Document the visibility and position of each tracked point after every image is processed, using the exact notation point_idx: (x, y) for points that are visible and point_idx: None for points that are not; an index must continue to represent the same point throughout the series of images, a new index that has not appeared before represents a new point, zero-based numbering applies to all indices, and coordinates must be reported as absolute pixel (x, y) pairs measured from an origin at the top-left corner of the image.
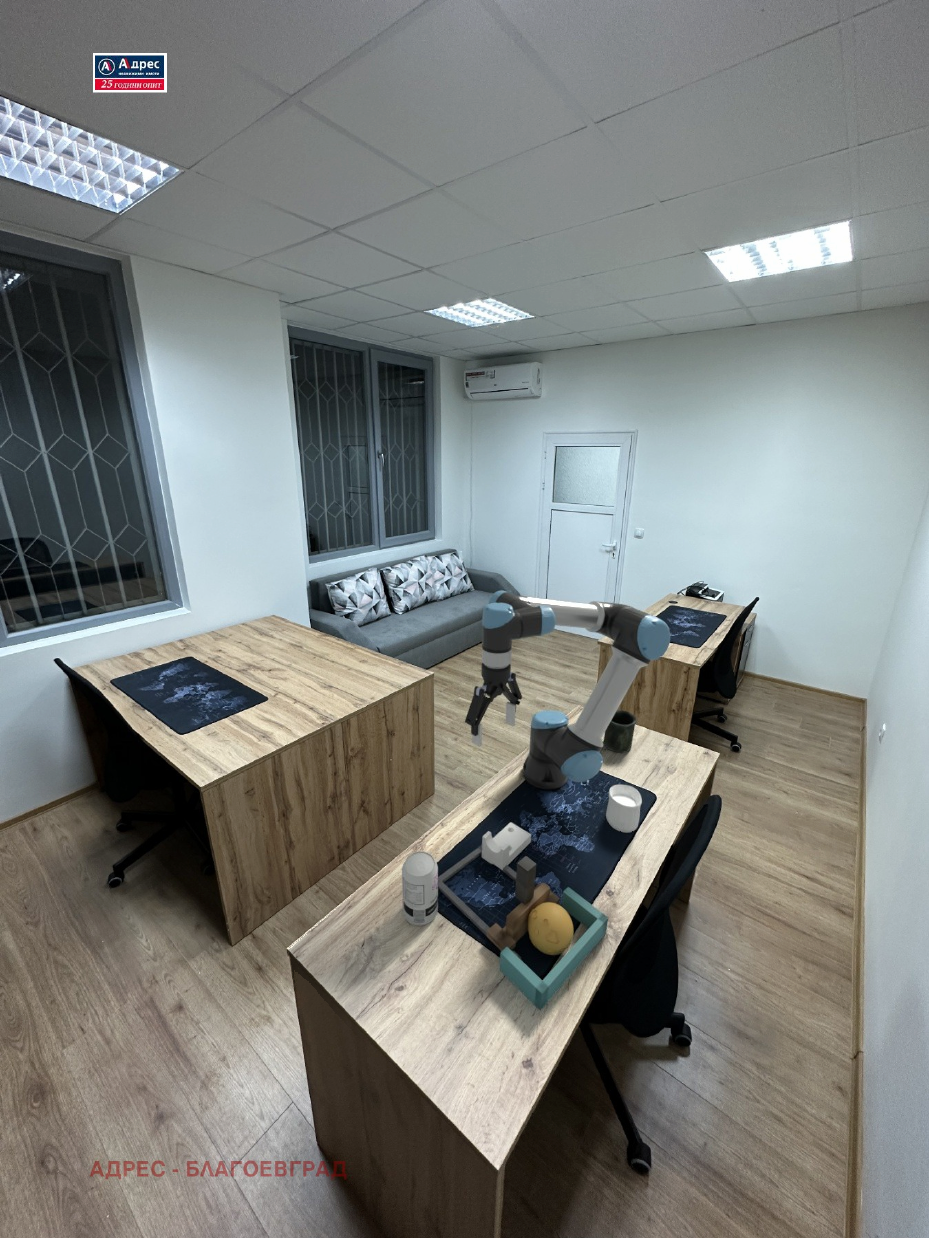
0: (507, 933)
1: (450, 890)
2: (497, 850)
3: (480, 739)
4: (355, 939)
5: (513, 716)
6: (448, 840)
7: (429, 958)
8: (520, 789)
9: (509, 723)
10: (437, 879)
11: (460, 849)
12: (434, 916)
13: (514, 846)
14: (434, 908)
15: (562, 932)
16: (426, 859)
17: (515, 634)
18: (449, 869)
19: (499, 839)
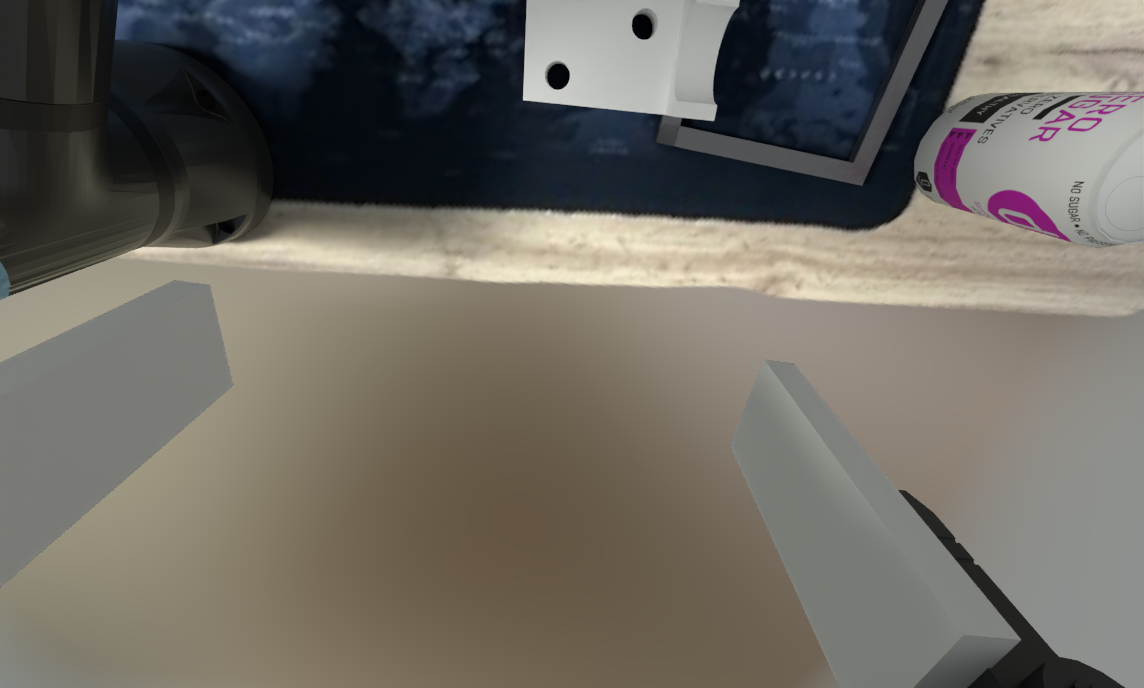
0: None
1: (876, 115)
2: (707, 42)
3: (823, 414)
4: None
5: (72, 357)
6: (684, 249)
7: (1111, 17)
8: (327, 187)
9: (210, 343)
10: (1078, 105)
11: (697, 196)
12: (991, 93)
13: (625, 7)
14: (1018, 93)
15: None
16: (1131, 171)
17: None
18: (801, 170)
19: (627, 85)
